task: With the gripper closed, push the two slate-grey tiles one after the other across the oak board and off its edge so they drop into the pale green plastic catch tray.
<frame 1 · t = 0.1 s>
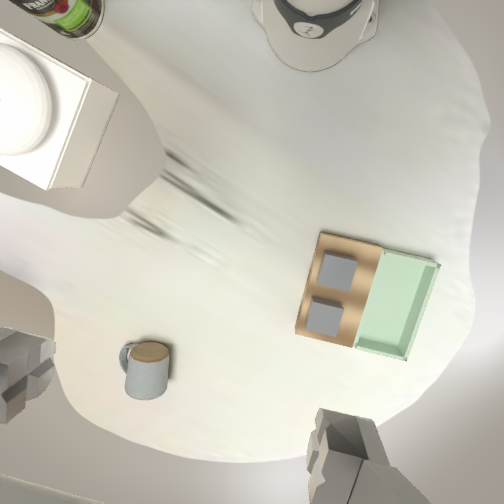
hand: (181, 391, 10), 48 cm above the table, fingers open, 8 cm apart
tray: (389, 299, 57), on the table
butter dish: (57, 119, 57), on the table
board: (334, 287, 58), on the table
coffee can: (75, 5, 53), on the table
ceramic mug: (149, 358, 65), on the table
tile a: (334, 268, 54), point 3 cm above the table, touching board
tile b: (322, 312, 56), point 3 cm above the table, touching board
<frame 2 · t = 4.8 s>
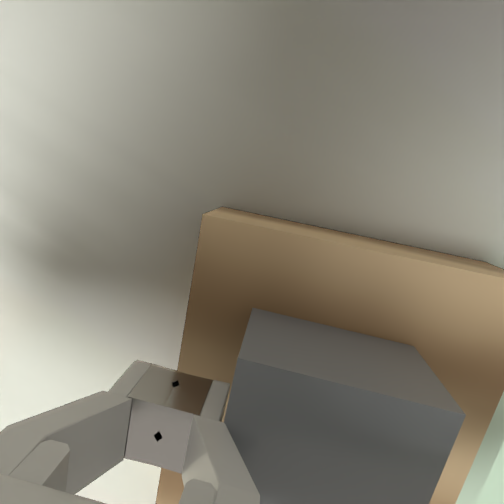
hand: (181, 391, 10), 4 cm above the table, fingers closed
board: (296, 431, 14), on the table
tile a: (312, 395, 11), point 3 cm above the table, touching gripper
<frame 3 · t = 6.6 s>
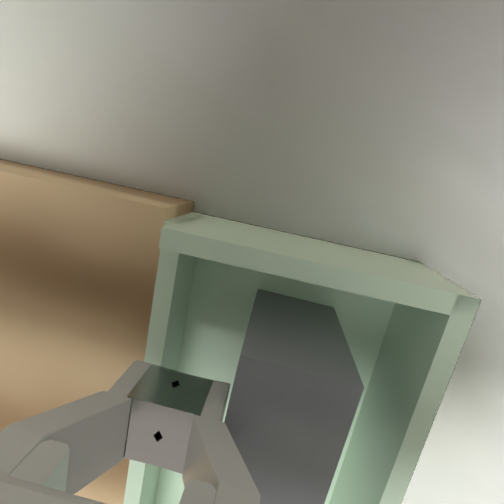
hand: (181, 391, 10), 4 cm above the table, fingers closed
tray: (260, 423, 14), on the table
board: (57, 371, 15), on the table
tile a: (234, 382, 11), point 3 cm above the table, tilted 90°, touching gripper, tray
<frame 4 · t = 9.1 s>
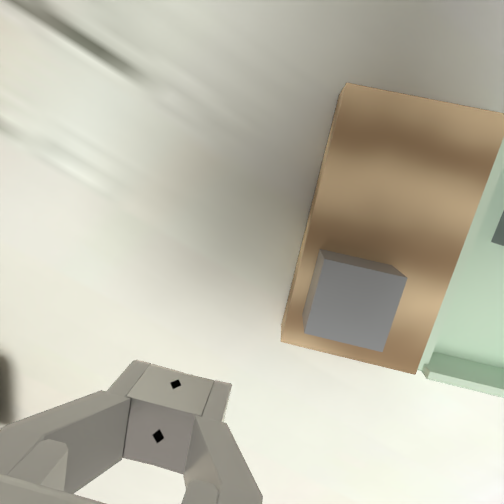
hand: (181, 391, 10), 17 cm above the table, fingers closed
tray: (500, 261, 24), on the table
board: (372, 233, 25), on the table
tile b: (345, 290, 23), point 3 cm above the table, touching board
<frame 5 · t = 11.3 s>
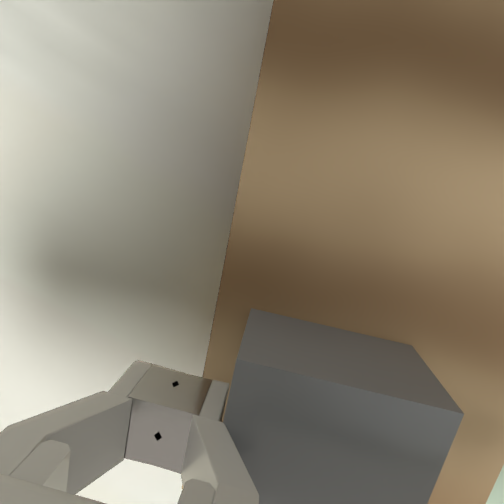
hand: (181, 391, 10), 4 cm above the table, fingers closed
board: (366, 265, 13), on the table
tile b: (310, 395, 11), point 3 cm above the table, touching gripper
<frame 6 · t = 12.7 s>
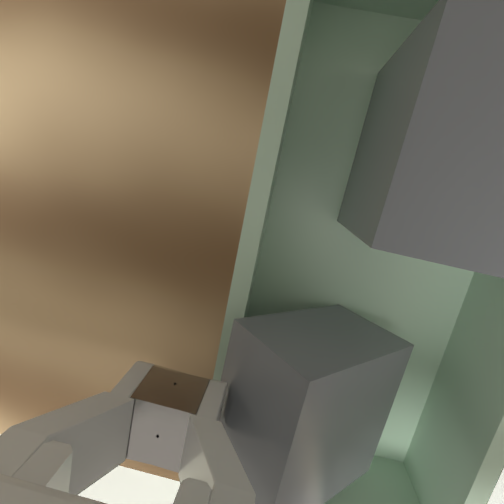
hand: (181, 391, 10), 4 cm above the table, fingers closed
tray: (365, 260, 13), on the table
board: (127, 209, 13), on the table
tile a: (375, 142, 9), point 3 cm above the table, tilted 90°, touching tray
tile b: (277, 374, 12), point 2 cm above the table, tilted 44°, touching gripper, tray
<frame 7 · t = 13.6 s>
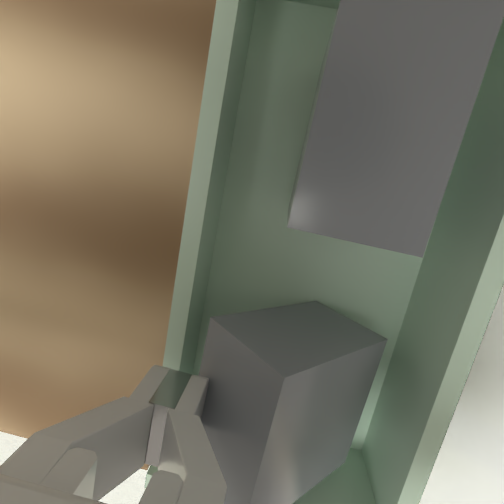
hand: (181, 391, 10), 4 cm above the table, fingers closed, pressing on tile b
tray: (318, 249, 13), on the table
board: (88, 200, 13), on the table
tile a: (307, 129, 9), point 3 cm above the table, tilted 90°, touching tray
tile b: (255, 371, 12), point 2 cm above the table, tilted 47°, touching gripper, tray
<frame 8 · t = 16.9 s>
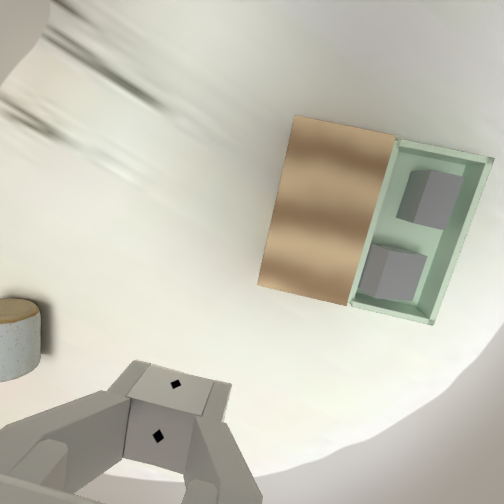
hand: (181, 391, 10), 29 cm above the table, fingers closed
tray: (404, 231, 36), on the table
board: (319, 212, 37), on the table
ceramic mug: (20, 324, 44), on the table
tile a: (411, 195, 33), point 3 cm above the table, tilted 90°, touching tray
tile b: (381, 267, 36), point 2 cm above the table, tilted 25°, touching tray
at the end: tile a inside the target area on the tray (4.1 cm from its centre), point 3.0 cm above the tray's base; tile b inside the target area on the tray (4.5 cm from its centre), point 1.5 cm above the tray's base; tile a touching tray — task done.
